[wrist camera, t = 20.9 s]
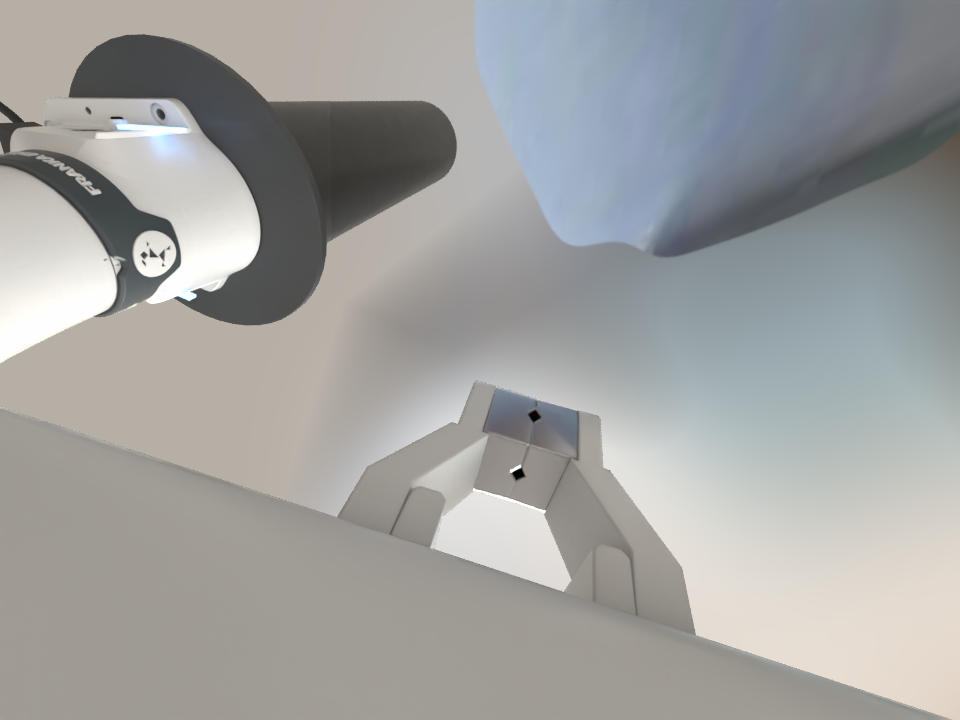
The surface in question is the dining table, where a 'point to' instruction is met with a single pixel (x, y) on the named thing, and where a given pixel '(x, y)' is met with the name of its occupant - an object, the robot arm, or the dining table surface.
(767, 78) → the dining table surface
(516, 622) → the robot arm
